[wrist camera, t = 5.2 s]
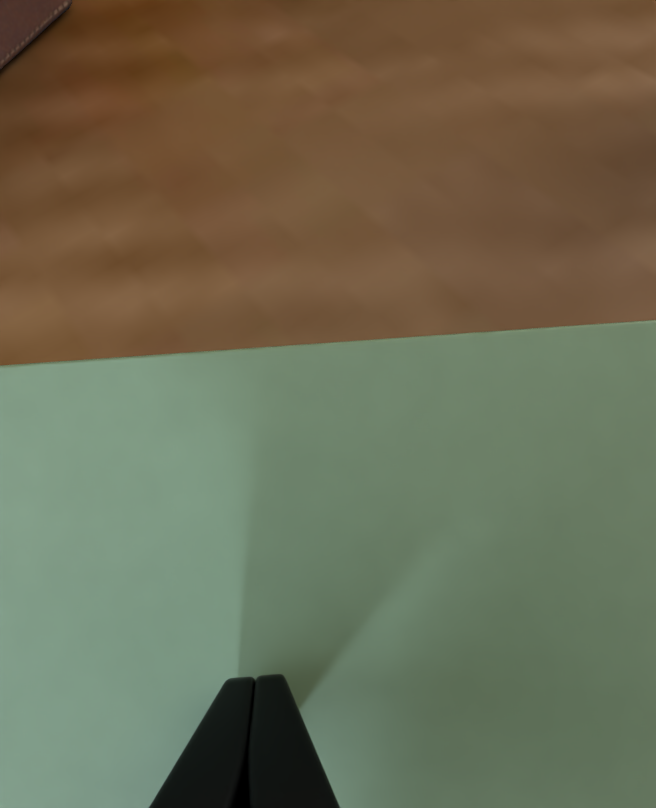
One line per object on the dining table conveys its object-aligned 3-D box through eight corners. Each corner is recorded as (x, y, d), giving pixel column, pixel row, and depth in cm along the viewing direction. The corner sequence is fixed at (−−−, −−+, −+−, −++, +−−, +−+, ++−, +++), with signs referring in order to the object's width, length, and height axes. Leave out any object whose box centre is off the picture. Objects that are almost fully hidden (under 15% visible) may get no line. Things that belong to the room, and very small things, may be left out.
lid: (-202, 384, 9) (-245, 381, 8) (661, 324, 10) (690, 317, 9) (-142, 1280, 9) (-180, 1353, 8) (727, 1176, 10) (760, 1237, 9)
